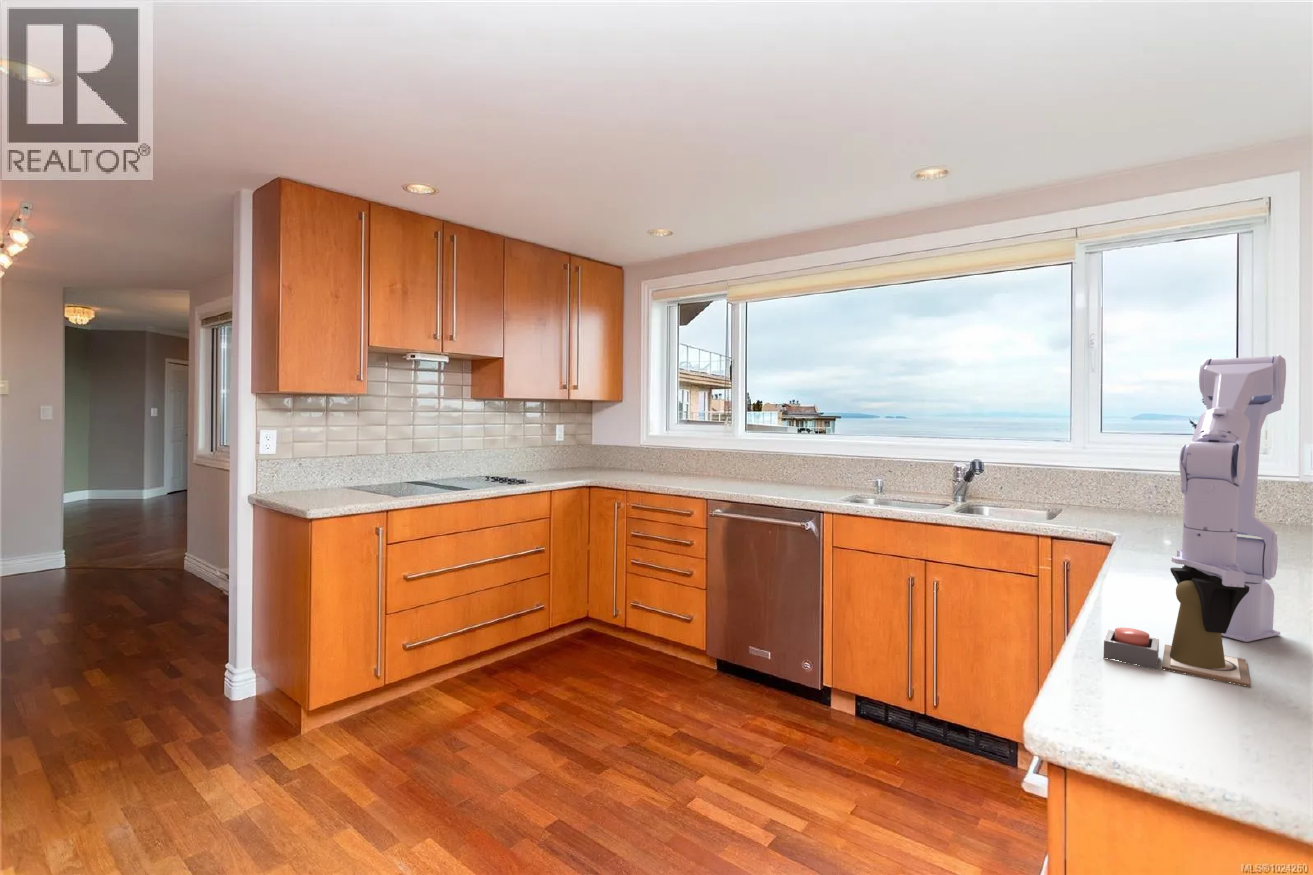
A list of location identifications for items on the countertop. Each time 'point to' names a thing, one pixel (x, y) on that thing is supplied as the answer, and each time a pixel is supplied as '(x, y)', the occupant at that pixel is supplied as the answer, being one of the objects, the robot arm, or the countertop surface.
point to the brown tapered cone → (1194, 633)
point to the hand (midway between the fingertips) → (1205, 625)
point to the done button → (1132, 636)
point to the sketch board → (1230, 673)
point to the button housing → (1131, 651)
